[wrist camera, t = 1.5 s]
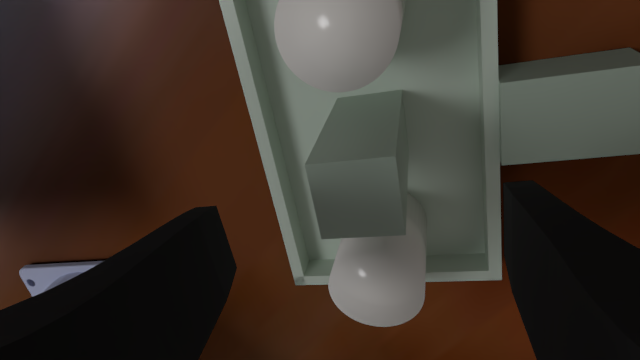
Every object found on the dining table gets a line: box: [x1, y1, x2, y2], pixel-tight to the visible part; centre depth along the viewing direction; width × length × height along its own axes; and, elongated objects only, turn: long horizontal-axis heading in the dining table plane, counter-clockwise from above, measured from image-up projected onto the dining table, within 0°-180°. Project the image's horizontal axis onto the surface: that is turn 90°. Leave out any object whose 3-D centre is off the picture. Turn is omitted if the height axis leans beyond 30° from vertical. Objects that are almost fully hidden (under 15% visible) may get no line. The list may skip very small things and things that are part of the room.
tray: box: [219, 0, 640, 285], centre depth 15 cm, size 14×14×7 cm
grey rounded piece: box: [328, 193, 427, 327], centre depth 18 cm, size 3×3×4 cm
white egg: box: [274, 0, 405, 92], centre depth 14 cm, size 3×3×4 cm
